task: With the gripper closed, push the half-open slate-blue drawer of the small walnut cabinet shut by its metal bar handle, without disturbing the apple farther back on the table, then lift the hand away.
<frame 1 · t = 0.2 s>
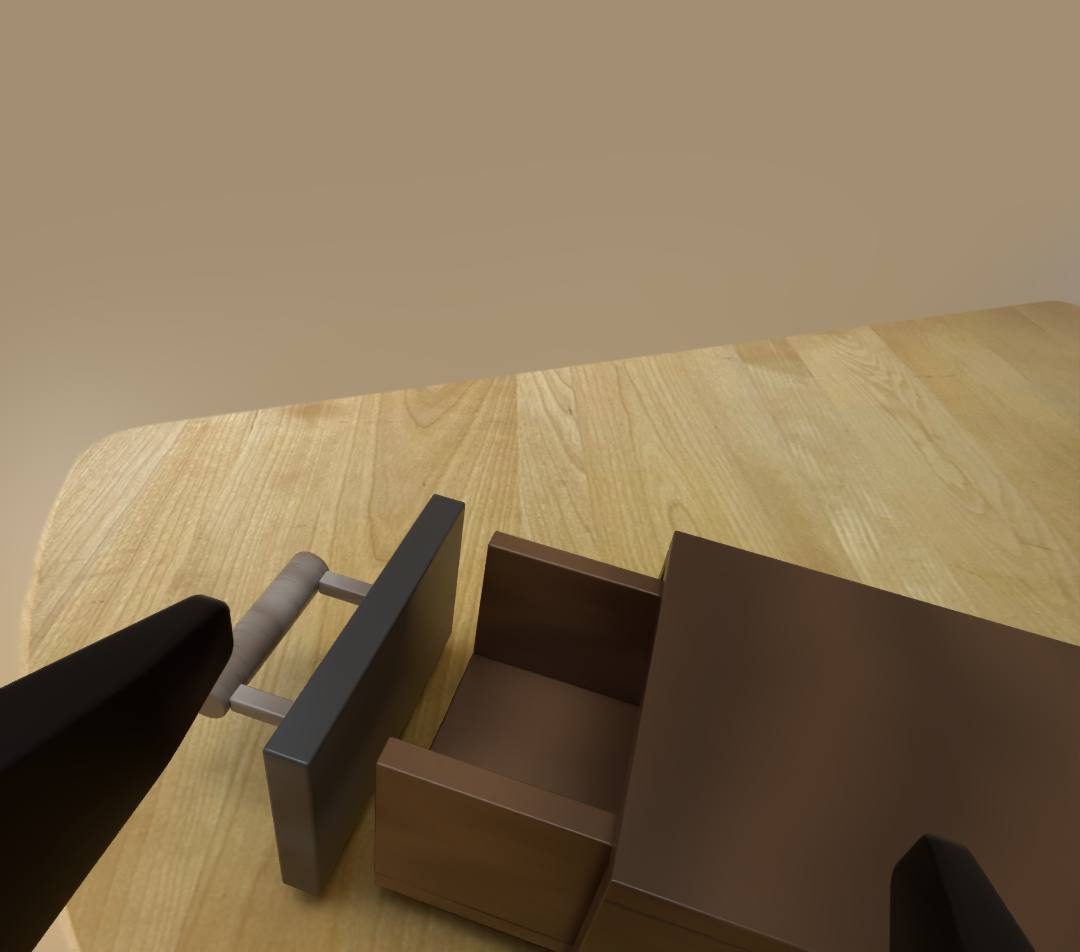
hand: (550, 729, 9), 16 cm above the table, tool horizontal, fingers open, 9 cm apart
cabinet: (791, 895, 23), on the table
drawer: (489, 711, 22), point 4 cm above the table, slide at 7.0 cm
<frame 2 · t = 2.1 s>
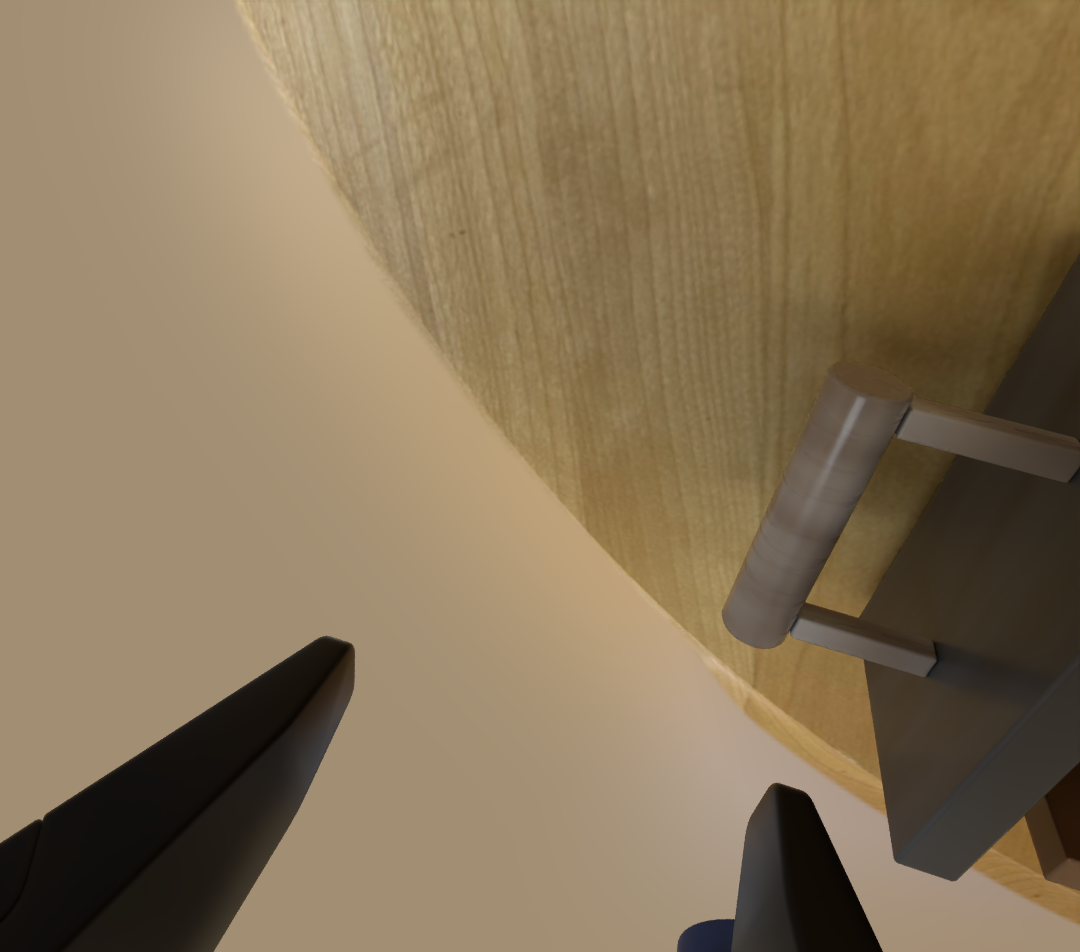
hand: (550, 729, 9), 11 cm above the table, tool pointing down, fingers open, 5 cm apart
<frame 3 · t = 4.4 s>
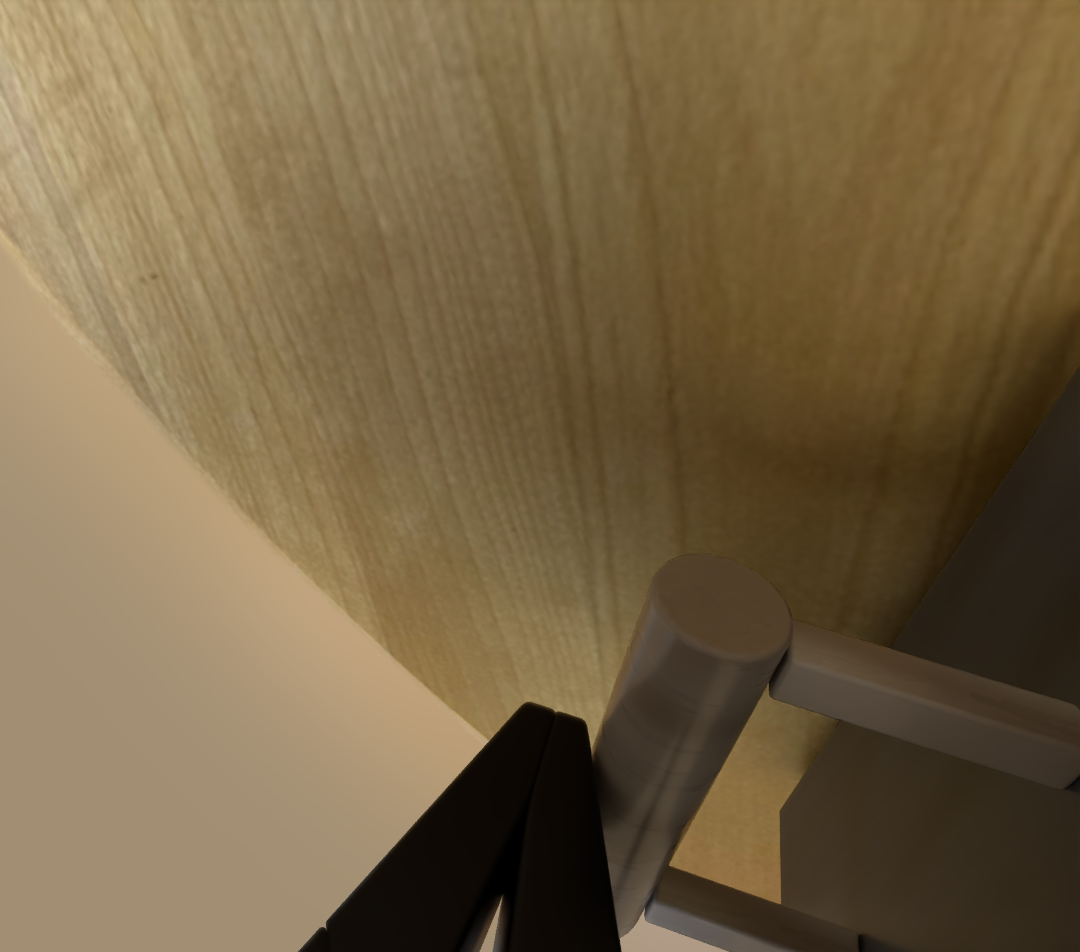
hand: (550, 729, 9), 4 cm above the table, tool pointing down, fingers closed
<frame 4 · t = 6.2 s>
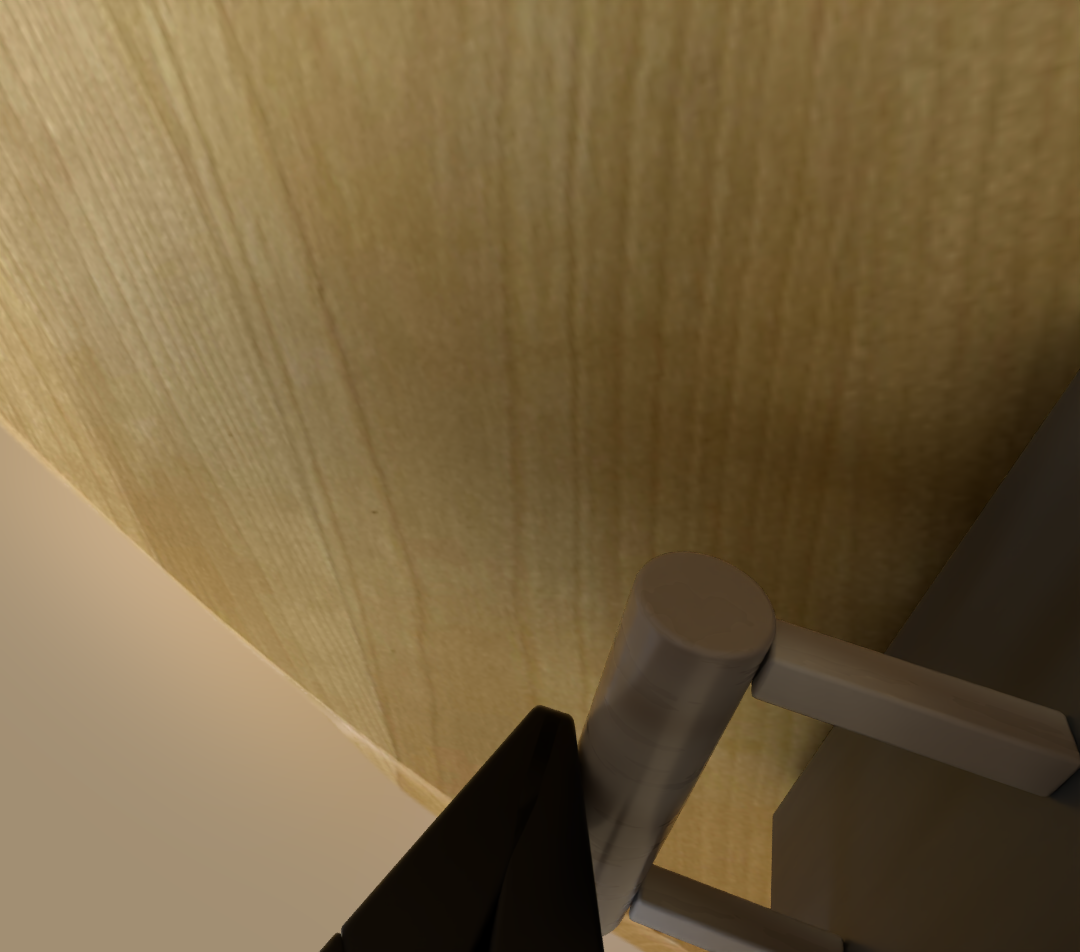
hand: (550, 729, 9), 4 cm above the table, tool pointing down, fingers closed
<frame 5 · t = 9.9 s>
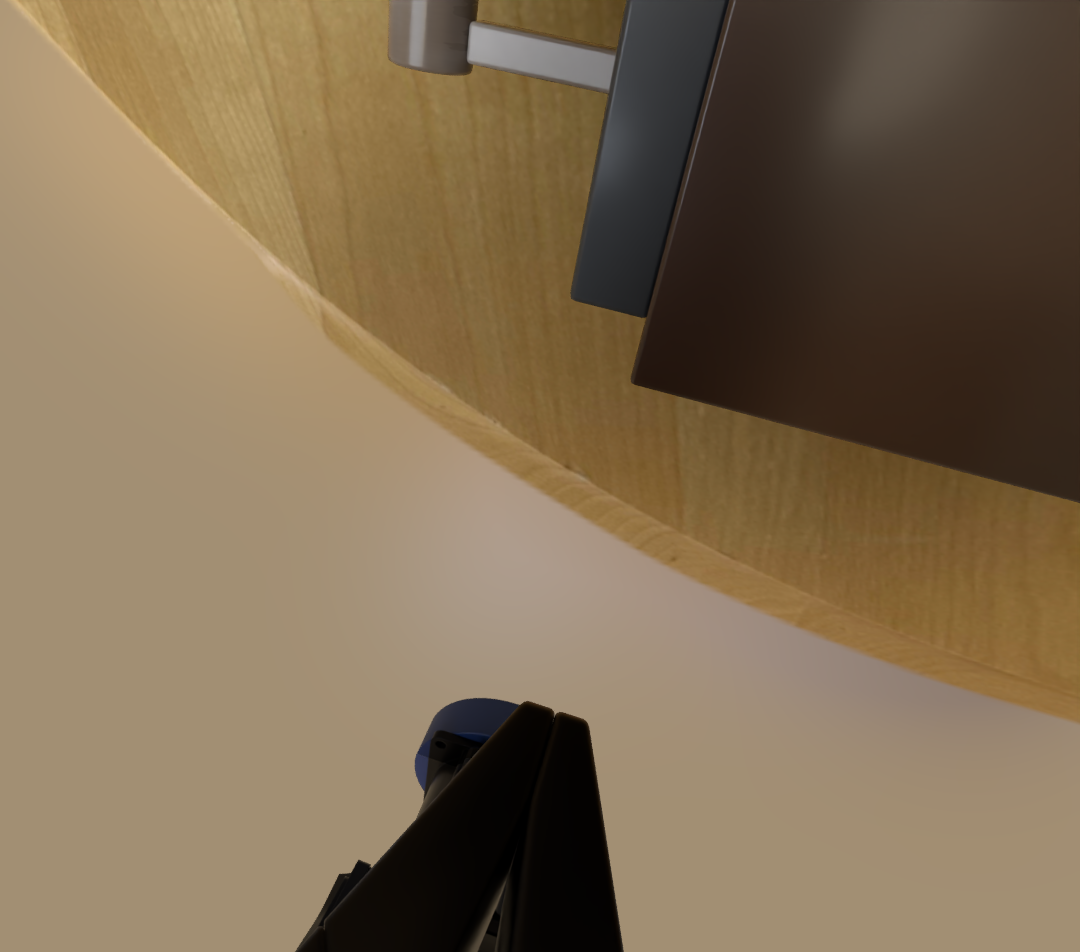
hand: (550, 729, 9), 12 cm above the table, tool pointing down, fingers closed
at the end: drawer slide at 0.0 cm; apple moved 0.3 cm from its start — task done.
